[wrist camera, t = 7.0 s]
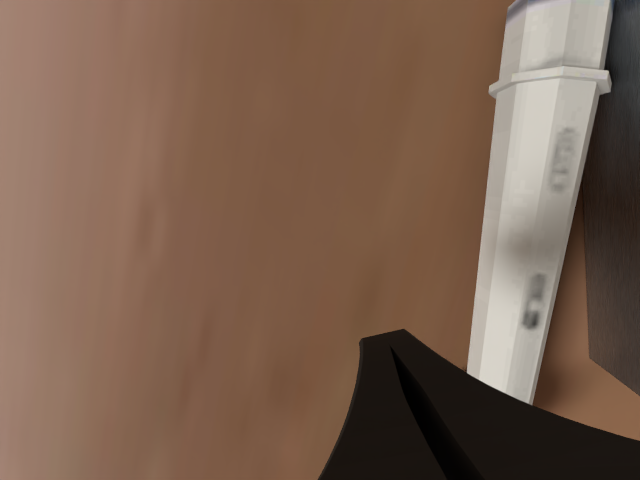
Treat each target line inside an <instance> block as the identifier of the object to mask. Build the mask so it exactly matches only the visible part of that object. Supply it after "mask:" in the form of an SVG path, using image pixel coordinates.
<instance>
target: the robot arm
mask: <svg viewBox="0 0 640 480" xmlns="http://www.w3.org/2000/svg"><path fill="white" fill-rule="evenodd" d="M359 346H360V360H359V368H358V374H357V380H356V385H355V389H354V393H353V396H352V400H351V404H350V407H349V411H348V414H347V417H346V419H345V422H344V425H343V428H342V430H341V433H340V435H339V438H338V440H337V442H336V444H335V446H334V449H333V451H332V453H331V455H330V457H329V459H328V461H327V463H326V465H325V467H324V469H323V471H322V473H321V475H320V476H319V478H318V480H640V441H638V440H634V439H630V438H627V437H623V436H620V435H616V434H613V433H610V432H607V431H603V430H600V429H597V428H594V427H590V426H587V425H584V424H581V423H578V422H575V421H572V420H569V419H567V418H564V417H561V416H558V415H556V414H553V413H551V412H548V411H545V410H543V409H540V408H538V407H535V406H533V405H530V404H528V403H526V402H523V401H521V400H519V399H516V398H514V397H512V396H510V395H508V394H506V393H504V392H502V391H500V390H497V389H495V388H493V387H491V386H489V385H487V384H485V383H484V382H482V381H480V380H478V379H476V378H475V377H473V376H471V375H469V374H468V373H466V372H464V371H463V370H461V369H460V368H458V367H456V366H455V365H453V364H452V363H450V362H449V361H447V360H446V359H444V358H443V357H441V356H440V355H438V354H437V353H436V352H434V351H433V350H431V349H430V348H429V347H427V346H426V345H425V344H423V343H422V342H421V341H419V340H418V339H417V338H416V337H414V336H413V335H412V334H410V333H409V332H408V331H406V330H405V329H401V330H396V331H392V332H388V333H383V334H379V335H375V336H370V337H366V338H362V339H361V340H360V342H359Z"/></svg>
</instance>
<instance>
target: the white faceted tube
mask: <svg viewBox="0 0 640 480" xmlns="http://www.w3.org/2000/svg"><path fill="white" fill-rule="evenodd" d="M614 3H615V0H516V1H515V2H514V3H513V4H512V5H510V6H509V7H508V12H507V20H506V28H505V35H504V43H503V51H502V59H501V67H500V75H499V81H497V82H496V83H494V84H492V85H490V86H489V94H490V95H491V96H493V97H494V98H495V99H496V108H495V118H494V127H493V136H492V145H491V154H490V164H489V173H488V182H487V191H486V201H485V210H484V219H483V228H482V237H481V247H480V256H479V265H478V274H477V284H476V293H475V302H474V311H473V320H472V330H471V339H470V348H469V357H468V366H467V373H468V374H469V375H471V376H473V377H475V378H476V379H478V380H480V381H482V382H484V383H485V384H487V385H489V386H491V387H493V388H495V389H497V390H500V391H502V392H504V393H506V394H508V395H510V396H512V397H514V398H516V399H519V400H521V401H523V402H526V403H528V404H530V405H532V404H533V399H534V395H535V390H536V385H537V381H538V376H539V372H540V367H541V362H542V358H543V353H544V349H545V344H546V339H547V335H548V330H549V326H550V321H551V316H552V312H553V307H554V303H555V298H556V293H557V289H558V284H559V280H560V275H561V270H562V266H563V261H564V256H565V252H566V247H567V243H568V238H569V233H570V229H571V224H572V220H573V215H574V210H575V206H576V201H577V197H578V192H579V187H580V183H581V178H582V174H583V169H584V164H585V160H586V155H587V151H588V146H589V141H590V137H591V132H592V128H593V123H594V118H595V114H596V109H597V105H598V100H599V95H601V94H605V93H608V92H610V91H611V85H612V82H611V78H610V74H609V71H607V70H604V66H605V59H606V53H607V47H608V41H609V35H610V28H611V22H612V16H613V10H614Z"/></svg>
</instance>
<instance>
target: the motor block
mask: <svg viewBox="0 0 640 480" xmlns="http://www.w3.org/2000/svg"><path fill="white" fill-rule="evenodd" d="M604 70H607V71H609V74H610V78H611V82H612V85H611V91H610V92H608V93H605V94H601V95H599V100H598V105H597V109H596V114H595V118H594V123H593V128H592V132H591V137H590V141H589V146H588V151H587V155H586V160H585V164H584V169H583V174H582V178H583V204H584V229H585V255H586V280H587V306H588V331H589V356H590V359H592V360H593V361H594V362H596V363H597V364H598V365H600V366H601V367H602V368H603V369H605V370H606V371H607V372H609V373H610V374H611V375H613V376H614V377H615V378H617V379H618V380H619V381H621V382H622V383H623V384H624V385H626V386H627V387H628V388H630V389H631V390H632V391H634V392H635V393H636V394H638V395H639V396H640V0H615V3H614V10H613V16H612V22H611V28H610V35H609V41H608V47H607V53H606V59H605V66H604Z"/></svg>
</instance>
